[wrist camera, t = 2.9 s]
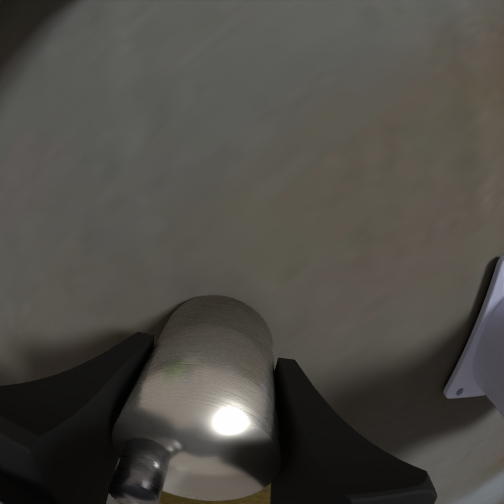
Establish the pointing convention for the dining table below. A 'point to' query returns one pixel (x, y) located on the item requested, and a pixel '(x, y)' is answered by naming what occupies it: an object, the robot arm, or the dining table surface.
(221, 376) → the spout can
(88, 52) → the dining table surface
